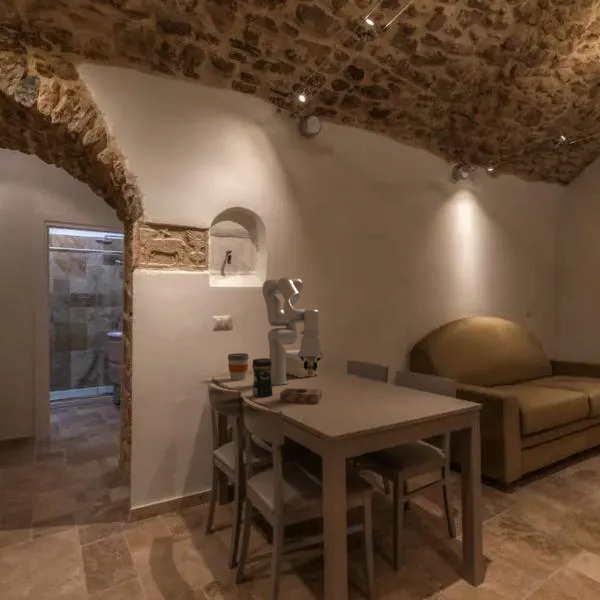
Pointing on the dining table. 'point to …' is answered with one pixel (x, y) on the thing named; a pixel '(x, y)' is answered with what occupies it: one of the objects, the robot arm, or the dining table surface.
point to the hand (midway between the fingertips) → (310, 369)
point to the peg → (310, 365)
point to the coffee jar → (262, 377)
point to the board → (301, 395)
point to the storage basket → (296, 364)
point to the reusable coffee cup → (238, 365)
